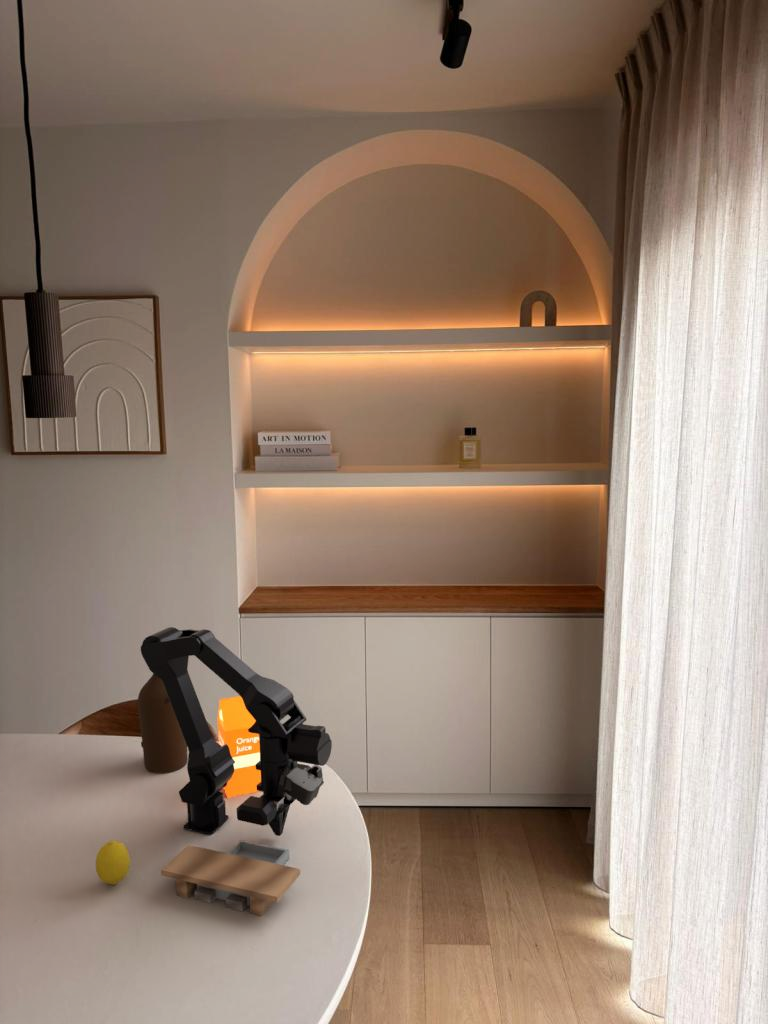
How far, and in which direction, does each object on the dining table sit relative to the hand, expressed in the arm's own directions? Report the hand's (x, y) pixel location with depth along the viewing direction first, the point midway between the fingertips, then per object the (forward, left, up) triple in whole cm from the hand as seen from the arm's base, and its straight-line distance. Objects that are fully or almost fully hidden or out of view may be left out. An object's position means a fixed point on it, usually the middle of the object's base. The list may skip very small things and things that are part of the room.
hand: (278, 834), depth 151 cm
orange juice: (-17, +16, -1) cm, 24 cm away
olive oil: (-39, +19, -1) cm, 44 cm away
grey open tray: (0, -12, -1) cm, 12 cm away
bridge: (0, -17, -1) cm, 17 cm away
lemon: (-20, -22, -1) cm, 30 cm away
